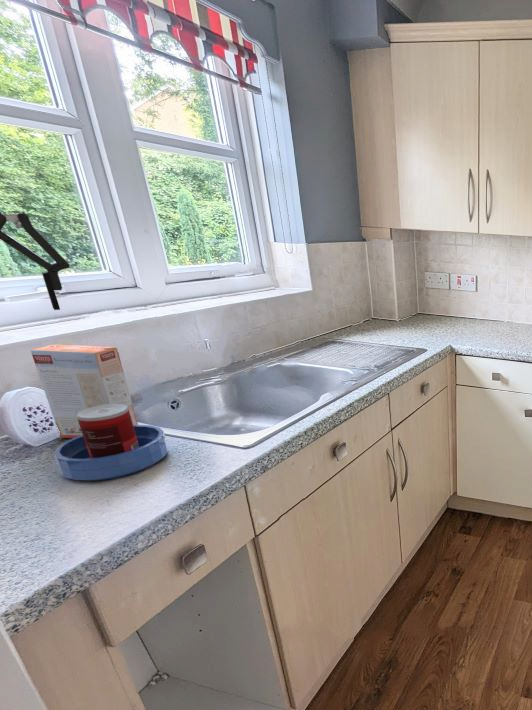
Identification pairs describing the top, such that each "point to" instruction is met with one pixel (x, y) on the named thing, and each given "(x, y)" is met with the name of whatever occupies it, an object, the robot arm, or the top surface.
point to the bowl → (82, 467)
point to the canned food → (107, 430)
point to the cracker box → (80, 382)
